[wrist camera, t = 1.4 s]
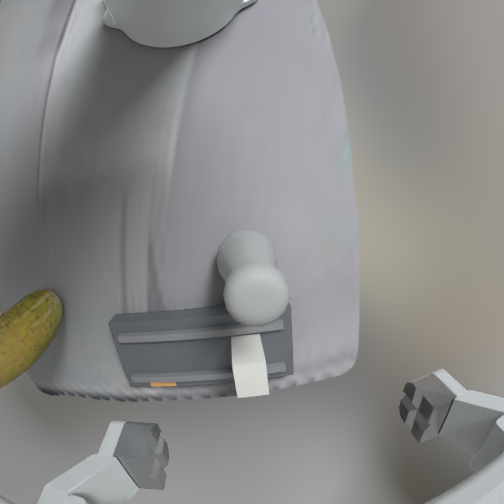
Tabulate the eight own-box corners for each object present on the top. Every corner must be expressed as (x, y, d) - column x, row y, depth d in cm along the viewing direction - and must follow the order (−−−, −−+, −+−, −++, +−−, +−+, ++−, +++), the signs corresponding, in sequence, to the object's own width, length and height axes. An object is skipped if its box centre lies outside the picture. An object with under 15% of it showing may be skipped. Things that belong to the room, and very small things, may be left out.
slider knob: (231, 336, 29) (232, 365, 24) (259, 333, 29) (265, 361, 24) (235, 366, 30) (237, 398, 25) (262, 363, 30) (268, 394, 25)
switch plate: (115, 314, 30) (106, 326, 27) (286, 297, 32) (292, 309, 28) (135, 375, 32) (128, 390, 29) (289, 363, 34) (294, 378, 30)
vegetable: (80, 295, 30) (-24, 390, 10) (73, 335, 31) (-9, 436, 11) (43, 275, 29) (-67, 347, 9) (39, 315, 30) (-51, 397, 10)
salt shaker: (247, 290, 31) (259, 357, 18) (206, 257, 30) (191, 307, 17) (283, 251, 30) (322, 295, 18) (243, 214, 29) (255, 236, 17)
